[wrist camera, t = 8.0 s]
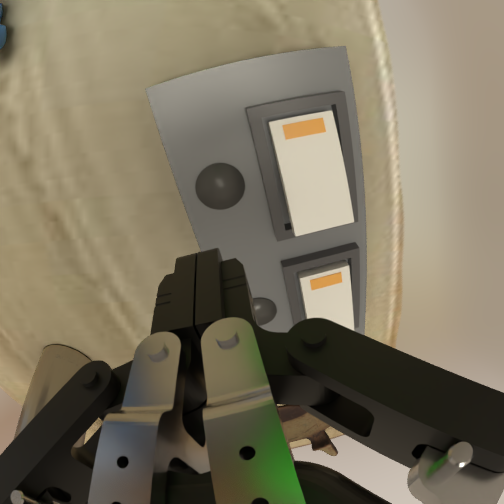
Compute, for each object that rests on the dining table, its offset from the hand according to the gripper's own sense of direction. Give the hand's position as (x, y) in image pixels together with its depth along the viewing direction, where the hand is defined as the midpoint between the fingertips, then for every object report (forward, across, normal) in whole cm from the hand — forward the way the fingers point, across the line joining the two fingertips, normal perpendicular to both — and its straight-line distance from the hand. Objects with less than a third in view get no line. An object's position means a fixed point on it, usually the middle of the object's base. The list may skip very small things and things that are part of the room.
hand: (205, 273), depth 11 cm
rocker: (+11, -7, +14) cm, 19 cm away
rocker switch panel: (+16, -5, +8) cm, 18 cm away
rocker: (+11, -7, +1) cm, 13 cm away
